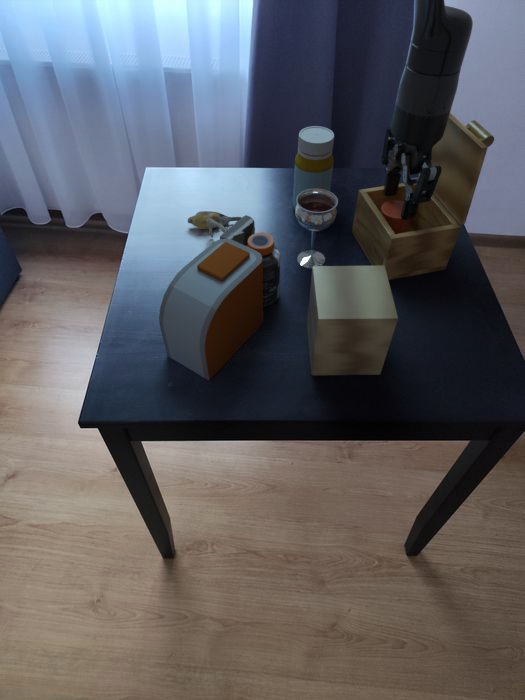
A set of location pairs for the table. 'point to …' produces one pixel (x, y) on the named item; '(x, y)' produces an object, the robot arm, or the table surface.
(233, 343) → the alarm clock
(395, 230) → the spice tin
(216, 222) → the decorative sculpture
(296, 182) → the bottle
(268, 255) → the pill bottle
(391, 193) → the robot arm
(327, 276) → the block
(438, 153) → the lid
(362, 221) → the box
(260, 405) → the table surface
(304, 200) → the wineglass
